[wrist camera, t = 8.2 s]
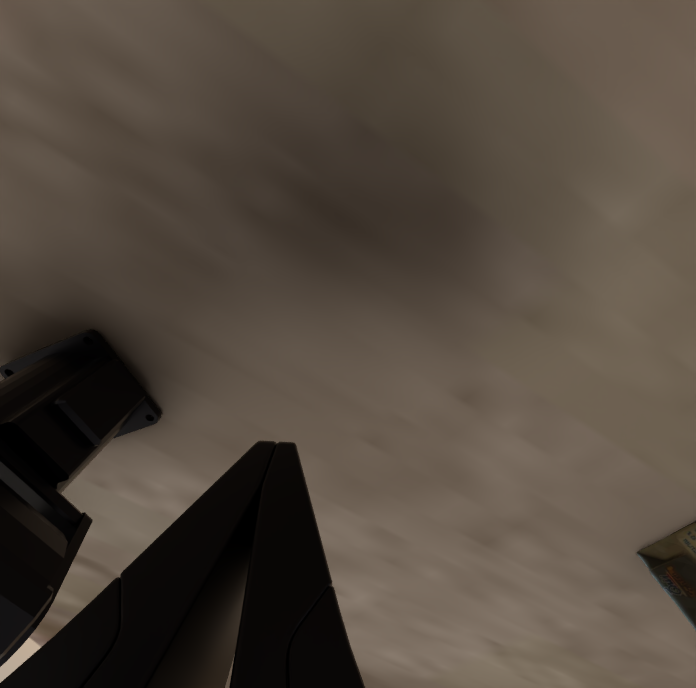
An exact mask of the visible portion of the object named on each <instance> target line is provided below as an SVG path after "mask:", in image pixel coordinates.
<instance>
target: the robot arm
mask: <svg viewBox="0 0 696 688" xmlns="http://www.w3.org/2000/svg"><path fill="white" fill-rule="evenodd" d="M88 337H90V338H91V339H92V340H93V342H92V341H91V340H90V339H89V338H88ZM0 373H1V374H2V376H3V377H4V378H5V379H4V380H2V381H0V667H1V666H2V665H3V664H4V663H5V662H6V661H7V660H8V659H9V658H10V657H11V656H12V655H13V654H14V653H15V652H16V651H17V650H18V649H19V648H20V647H21V646H22V645H23V643H24V642H25V641H26V640H27V639H28V638H29V636H30V635H31V634H32V633H33V632H34V630H35V629H36V628H37V626H38V625H39V624H40V622H41V621H42V619H43V618H44V617H45V615H46V613H47V612H48V610H49V608H50V606H51V605H52V603H53V601H54V599H55V597H56V595H57V593H58V591H59V589H60V587H61V585H62V583H63V580H64V578H65V576H66V574H67V572H68V570H69V568H70V566H71V564H72V562H73V560H74V558H75V556H76V554H77V552H78V550H79V548H80V546H81V544H82V541H83V539H84V537H85V535H86V533H87V531H88V529H89V527H90V525H91V523H92V519H91V518H90V517H89V516H88V515H87V514H86V513H81V512H80V511H79V510H78V509H77V508H76V507H75V506H74V505H73V504H71V503H70V502H69V501H68V500H67V499H66V498H65V497H64V496H63V495H62V494H61V493H62V492H63V491H64V490H65V488H66V487H67V486H68V485H69V484H70V483H71V482H72V481H73V480H74V479H75V478H76V477H77V476H78V475H79V474H80V473H81V471H82V470H83V469H84V468H85V467H86V466H87V465H88V464H89V463H90V462H91V461H92V460H93V459H94V458H95V457H96V455H97V454H98V453H99V452H100V451H101V450H102V449H103V448H104V447H105V446H106V445H107V444H108V443H109V442H110V441H111V440H112V439H113V438H116V437H118V436H121V435H124V434H127V433H130V432H133V431H136V430H139V429H142V428H145V427H147V426H150V425H153V424H155V423H157V422H158V421H159V419H160V418H161V412H160V411H159V409H158V408H157V407H156V405H155V404H154V403H153V402H152V400H151V399H150V398H149V396H148V395H147V394H146V393H145V391H144V390H143V389H142V387H141V386H140V385H139V384H138V382H137V381H136V380H135V378H134V377H133V376H132V375H131V373H130V372H129V371H128V369H127V368H126V367H125V366H124V364H123V363H122V362H121V360H120V359H119V358H118V357H117V355H116V354H115V353H114V351H113V350H112V349H111V348H110V346H109V345H108V344H107V342H106V341H105V340H104V338H103V337H102V336H101V335H100V334H99V333H98V332H97V331H95V330H91V329H90V330H86V331H84V332H81V333H79V334H76V335H74V336H72V337H69V338H67V339H64V340H62V341H59V342H57V343H55V344H52V345H50V346H47V347H45V348H43V349H40V350H38V351H35V352H33V353H31V354H28V355H26V356H23V357H21V358H19V359H16V360H14V361H11V362H9V363H7V364H5V365H3V366H2V367H0ZM149 414H150V415H152V416H153V417H152V416H150V415H149ZM234 654H235V656H234ZM233 657H234V663H233V669H232V675H231V681H230V688H365V686H364V683H363V680H362V678H361V675H360V672H359V669H358V666H357V663H356V661H355V658H354V655H353V652H352V649H351V646H350V643H349V640H348V636H347V633H346V629H345V626H344V623H343V619H342V616H341V613H340V609H339V605H338V602H337V598H336V594H335V590H334V587H333V586H332V580H331V576H330V572H329V568H328V564H327V561H326V557H325V553H324V549H323V545H322V542H321V538H320V534H319V530H318V526H317V523H316V519H315V515H314V511H313V507H312V504H311V500H310V496H309V492H308V488H307V485H306V481H305V477H304V473H303V469H302V466H301V462H300V458H299V454H298V451H297V447H296V444H295V443H293V442H278V443H276V442H274V441H258V442H257V443H256V444H255V445H253V446H252V447H251V448H250V449H249V450H248V451H247V452H246V453H245V454H244V455H243V456H242V457H241V458H240V459H239V460H238V461H237V462H236V463H235V464H234V465H233V466H232V467H231V468H230V469H229V470H228V471H227V472H225V473H224V474H223V475H222V476H221V477H220V478H219V479H218V480H217V481H216V482H215V483H214V484H213V485H212V486H211V487H210V488H209V489H208V490H207V491H206V492H205V493H204V494H203V495H202V496H201V497H200V498H199V499H198V500H196V501H195V502H194V503H193V504H192V505H191V506H190V507H189V508H188V509H187V510H186V511H185V512H184V513H183V514H182V515H181V516H180V517H179V518H178V519H177V520H176V521H175V522H174V523H173V524H172V525H171V526H170V527H168V528H167V529H166V530H165V531H164V532H163V533H162V534H161V535H160V536H159V537H158V538H157V539H156V540H155V541H154V542H153V543H152V544H151V545H150V546H149V547H148V548H147V549H146V550H145V551H144V552H143V553H142V554H140V555H139V556H138V557H137V558H136V559H135V560H134V561H133V562H132V563H131V564H130V565H129V566H128V567H127V568H126V569H125V570H124V571H123V572H122V573H121V577H120V578H119V577H117V578H115V579H114V580H113V581H112V582H111V583H110V584H109V585H108V586H107V587H106V588H105V589H104V590H103V591H102V592H101V593H100V594H99V595H98V596H97V597H96V598H95V599H94V600H92V601H91V602H90V603H89V604H88V605H87V606H86V607H85V608H84V609H83V610H82V611H81V612H80V613H79V614H77V615H76V616H75V617H74V618H73V619H72V620H71V621H70V622H69V623H68V624H67V625H66V626H65V627H63V628H62V629H61V630H60V631H59V632H58V633H57V634H56V635H55V636H54V637H53V638H51V639H50V640H49V641H48V642H47V643H46V644H45V645H43V646H42V647H41V648H40V649H39V650H38V651H37V652H36V653H34V654H33V655H32V656H31V657H30V658H29V659H27V660H26V661H25V662H24V663H23V664H22V665H21V666H19V667H18V668H17V669H16V670H15V671H14V672H13V673H11V674H10V675H9V676H8V677H7V678H6V679H4V680H3V681H2V682H1V683H0V688H225V685H226V682H227V678H228V675H229V671H230V668H231V664H232V661H233Z"/></svg>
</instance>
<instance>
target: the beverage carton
mask: <svg viewBox="0 0 696 688" xmlns="http://www.w3.org/2000/svg"><path fill="white" fill-rule="evenodd" d="M637 554H638V556H639V557H640V558H641V559H642V561H643V562H644V563H645V565H646V566H647V567H648V568H649V571H650V573H651V575H652V576H653V577H654V578H655V580H656V581H657V582H658V583H659V584H660V586H661V587H662V589H663V590H664V591H665V592H666V593H667V594H668V595H669V596H670V597H671V599H672V600H673V601H674V602H675V604H676V605H677V606H678V608H679V609H680V610H681V612H682V613H683V614H684V616H685V617H686V618H687V620H688V621H689V622H690V624H691V625H692V626H693V627H694V629H695V630H696V522H694V523H692V524H690V525H688V526H686V527H684V528H682V529H681V530H679V531H677V532H675V533H673V534H671V535H670V536H668V537H666V538H664V539H662V540H660V541H658V542H656V543H654V544H652V545H650V546H649V547H647V548H645V549H643V550H641V551H638V552H637Z"/></svg>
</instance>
